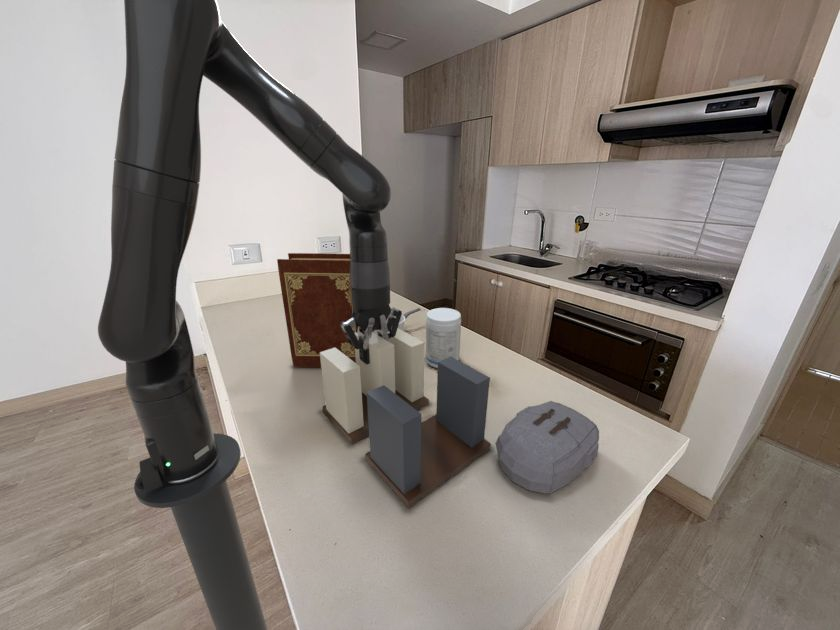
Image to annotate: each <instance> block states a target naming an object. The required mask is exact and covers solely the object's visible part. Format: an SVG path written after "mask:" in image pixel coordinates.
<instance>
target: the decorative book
mask: <svg viewBox="0 0 840 630" xmlns="http://www.w3.org/2000/svg"><path fill="white" fill-rule="evenodd" d="M287 257H288V258H287V259H286V258H277V260H276V262H277V270H278V275H279V276H278V277H279V283H280V291H281V297H282V303H283V309H284V317H285V323H286V331H287V337H288V343H289V349H290V356H291V362H292V366H293V367H294V368H320V369H321V360H320V352H322V351H325V350H329V349H332V348H337V349H338V350H339V351H341V352H342V353H343V354H344V355H346V356H347V357H348V358H350V359H351V360H352V361H353V362H355V363H356V357H355V348H354V347H353V346H351V345H350V344H349V342H348V340H347V338H346V337H345V335H344V333H343V331H342V329H341V327H340V323H341V322H342V321H344V322H346V321H348V320H349V319H351V318H352V313H353V305H352V295H351V281H350V253H321V252H319V253H318V252H317V253H314V252H313V253H311V252H310V253H309V252H288V253H287ZM354 327H355V330H354V333H356V332H357V331H358V325H357V324H356V323H355V325H354ZM374 331H375V330H374ZM374 331H373V333H374Z"/></svg>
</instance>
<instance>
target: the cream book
mask: <svg viewBox="0 0 840 630" xmlns="http://www.w3.org/2000/svg"><path fill="white" fill-rule="evenodd" d="M355 335H356V337H357V339H358V334H357V332H356V333H355ZM368 348H369V354H370V364H367V365H366V364H365V363H363V362H362V361H361V360H360V357H359V349H355V357H356V364H357V365H359V366H360V377H361V392H363V393H364V394H365V395H366V396H367V392H369V391H371V390H374V389H376V388H378V387H381V386H383V385H385V386H386V387H387V388H388V389H390V390H391V391H392V392H394V393H395V357H394V345H393V344H392V343H390V342H388V341H387V340H385V339H383V338H382V337H380V336H378V335H377V334H375V333H373V332H372V336H371V338H370V339H369V346H368Z"/></svg>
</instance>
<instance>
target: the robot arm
mask: <svg viewBox="0 0 840 630" xmlns="http://www.w3.org/2000/svg"><path fill="white" fill-rule="evenodd" d="M123 3H124V21H125V23H124V25H125V27H124V28H125V78H124V84H123V89H122V91H123V92H122V97H121V102H120V110H119V117H118V125H117V135H116V144H115V151H114V157H113V158H114V160H113V173H112V185H111V215H110V216H111V218H110V220H111V221H110V224H111V225H110V245H111V254H110V255H111V259H110V269H109V276H108V280H107V286H106V291H105V295H104V299H103V303H102V308H101V312H100V315H99V320H98V323H97V334H98V339H99V342H100V343H101V345H102V347H103V348H104V349H105V350H106V351H107V353H109V354H110V355H111V356H113V357H114V358H115V359H118V360H120V361H123V362H125V387H126V390H127V393H128V396H129V398H130V401H131V403H132V407H133V409H134V412H135V414H136V417H137V420H138V422H139V425H140V428H141V430H142V434H143V435H144V443H145V448H146V450H147V452H148V455H149V457H148V458H145V459H142V460H140V461H139V462H138V463H139V472H140V474H141V476H140V477H139V479H138V480H137V482H136V487H137V488H138V489H141V490H145V491H146V493H148V492H150V491H152V490H155V489H157V488H159V487H162V488H164V487H166V486H169V485H181V484H186V483H189V482H192V481H194V480H196V479H198V478H200V477H202V476H203V475H205V474H206V473H207V472H209V471H210V470H211V469H212V468H213V467H214V466H215V464H216V463H217V461H218V459H219V451H218V448H217V445H216V442H215V439H214V435H213V434H214V432H213V431H214V430H213V428H212V424H211V421H210V417H209V414H208V410H207V407H206V404H205V403H206V402H205V399H204V396H203V392H202V388H201V385H200V381H199V377H198V373H197V370H196V361H195V360H196V359H195V353H194V349H193V344H192V340H191V336H190V332H189V327H188V324H187V319H186V316H185V313H184V310H183V308H182V306H181V305H180V303H179V302H178V300H177V286H178V285H177V284H178V277H179V270H180V266H181V263H182V260H183V257H184V254H185V253H186V252H185V251H186V248H187V245H188V243H189V240H190V235H191V234H192V233H191V232H192V230H193V226H194V221H195V217H196V212H197V208H198V207H197V206H198V200H199V193H200V186H201V173H202V141H201V123H200V95H201V88H202V84H203V83H202V82H203V78H206V79H207V80H208V81H210V82H211V83H212V84H214V85H215V86H216V87H218V88H220V90H222V91H223V92H225V93H226V94H227V95H228V96H229V97H231V98H232V99H234V100H235V101H236V103H239V105H240V106H242V107H243V108H244V109H245V110H246V111H248V113H250V114H251V115H252V116H253V117H254V118H255V119H256V120H257V121H259V122H260V123H261V125H263V127H265V128H266V129H267V130H268V131H269V132H270V133H271V134H272V135H273V136H274V137H276V138H277V139H278V141H280V142H281V143H282V144H283V145H284V146H285V147H286V148H287V149H288V150H289V151H291V153H293V154H294V155H295V156H296V157H297V158H298V159H299V160H300V161H302V162H303V163H304V164H305V165H306V166H307V167H309V169H310V170H312V172H314V173H315V174H317V175H318V176H320V177H322V178H324V179H326V180H327V181H328V182H330V183H331V184H332V185H333V186H334V187H335V188H336V189H337V190H338V191H339V192H340V193H342V194H341V195H342V204H343V205H342V206H343V210H344V217H345V221H346V225H347V230H348V244H349V245H348V246H349V254H350V281H351V295H352V305H353V313H352V318H351V319H349V320H348V321H346V322H344V321H342V322H341V323H340V327H341V329H342V331H343V333H344V335H345V337H346V338H347V340H348V342H349V344H350V345H351V346H353V347H354V348H355V349H359V357H360V360H361V361H362V362H363V363H365V364H366V365H367V364H370V354H369V348H368V346H369V339H370V338H371V336H372V332H373V331H374V330H376V332H377V335H378V336H380V337H382V338H383V339H385V340H387V341H389V339H390V338H391V337H395V335H396V332H397V328H398V325H399V322H400V318H401V315H402V314H403V311H402V310H400V309H398V308H396V307H392V308H391V306H390V304H391V279H390V278H391V277H390V275H391V274H390V272H391V271H390V266H389V258H388V257H389V255H388V236H387V231H386V229H385V227H383V224H382V219H381V218H382V217H381V212H382V211H384V210H385V209H386V208H387V206H388V205H389V203H390V201H391V198H392V197H391V196H392V189H391V186H390V183H389V181H388V179H387V178H386V177H385V175H384V174H383V173H382V171H380V170H379V169H378V167H376V166H375V165H374V164H373V163H372V162H371V161H369V160H368V159H367V158H365V157H364V156H363V155H362V154H360V153H359V152H358V151H357V150H355V149H354V148H352V146H350V145H349V144H348V143H347V142H346V141H345V140H344V139H343V138H342V137H341V135H340V134H339V133H338V132H337V131H336V130H335V129H334V128H333V127H332V126H331V125H330V124H329V123H328V122H327V121H326V120H325V119H324V118H323V117H322V116H321V115H320V114H319V113H318V112H317V111H316V110H315V109H314V108H313V107H312V106H311V105H309V104H308V103H307V102H306V101H304V100H303V99H302V98H301V97H299V95H297V94H296V93H295V92H293V91H292V90H291V89H289V88H288V87H287V86H285V85H284V84H283V83H281V82H280V81H278V80H277V79H276V78H275V77H273V76H272V75H271V74H270V73H269V72H268V71H267V70H266V69H264V68H263V67H262V65H260V64H259V63H258V62H257V61H256V60H255V59H254V58H253V57H252V56H251V55H250V54H249V53H248V52H247V51H246V49H244V47H243V46H242V45H241V44H240V42H239V41H238V40H237V38H236V37H235V36H234V35H233V34H232V33H231V32H230V30H229V29H228V28H227V26H226V25H225V23H224V22H223V21H222V20H221V19H222V18H221V13H220V9H219V5H218V2H217V0H123ZM388 317H389V318H388ZM387 319H388V321H387ZM386 321H387V324H386ZM355 323H356V324H357V325H358V331H357V334H358V339H357V337H356V335H355V333H354V330H355V327H354V325H355ZM391 328H392V329H391Z"/></svg>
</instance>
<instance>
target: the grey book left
mask: <svg viewBox="0 0 840 630" xmlns="http://www.w3.org/2000/svg"><path fill="white" fill-rule="evenodd" d="M367 407H368V424H369V436H368V438H369V440H368V441H369V451H370V457H371V459H372V460H373V461H374V462H375V463H376V464H377V465H378V466H379V468H380V469H381V470H382V471H383V472H384V473H385V474H386V475H387V476H388V477H389V479H390V480H391V481H392V482H393V483H394V484H395V485H396V486H397V487H398V488H399V489H400V491H401V492H402V493H403V494H406V493H407V492H408V491H410V490H411V489H413V488H414V487H416V486H417V485H419V484H420V483H421V423H422V413H421V412H419V410H416V409H414V408H413V407H412V406H410V405H409V404H408V403H407V402H405V401H404V400H403V399H401V398H400V397H399V396H397V395H396V394H395V393H394V392H392V391H391V390H390V389H388V388H387V387H386V386H385V385H383V386H381V387H378V388H376V389H374V390H371V391H369V392H367Z"/></svg>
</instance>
